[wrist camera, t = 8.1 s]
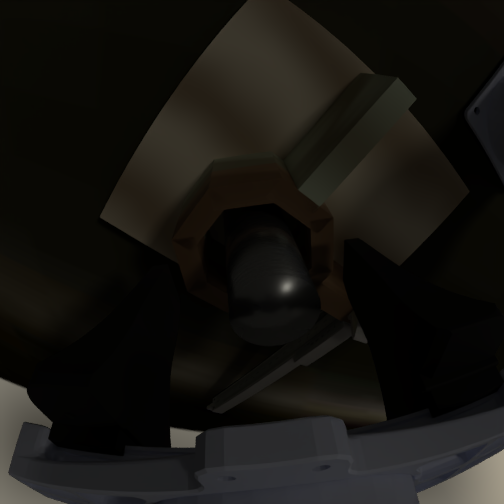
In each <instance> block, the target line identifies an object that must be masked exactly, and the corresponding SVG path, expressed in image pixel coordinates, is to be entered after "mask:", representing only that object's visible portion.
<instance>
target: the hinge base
mask: <svg viewBox="0 0 504 504" xmlns="http://www.w3.org/2000/svg"><path fill="white" fill-rule="evenodd" d="M415 100H416V98H415V97H414V95H413V94H412V93H411V92H410V91H409V90H408V88H407V87H406V86H405V85H404V84H403V83H402V82H401V81H400V79H399V78H397V77H391V76H384V75H377V74H374V73H373V72H372V71H371V70H370V69H369V68H368V67H367V66H366V65H365V64H364V63H363V62H362V61H361V60H360V59H359V58H358V57H357V56H356V55H354V54H353V53H352V52H351V51H350V50H349V49H348V48H347V47H346V46H345V45H343V44H342V43H341V42H340V41H339V40H338V39H337V38H335V37H334V36H333V35H332V34H331V33H330V32H328V31H327V30H326V29H325V28H324V27H322V26H321V25H320V24H319V23H317V22H316V21H315V20H314V19H312V18H311V17H310V16H308V15H307V14H306V13H305V12H303V11H302V10H301V9H299V8H298V7H297V6H295V5H294V4H293V3H291V2H290V1H288V0H248V1H247V2H246V3H245V4H244V5H243V6H242V7H241V8H240V9H239V11H238V12H237V13H236V14H235V15H234V16H233V17H232V19H231V20H230V21H229V22H228V23H227V24H226V25H225V27H224V28H223V29H222V30H221V31H220V33H219V34H218V35H217V36H216V37H215V39H214V40H213V41H212V42H211V43H210V45H209V46H208V47H207V48H206V50H205V51H204V52H203V54H202V55H201V56H200V57H199V59H198V60H197V61H196V63H195V64H194V65H193V67H192V68H191V69H190V71H189V72H188V73H187V75H186V76H185V77H184V79H183V80H182V81H181V83H180V84H179V86H178V87H177V88H176V90H175V91H174V93H173V94H172V96H171V97H170V98H169V100H168V101H167V103H166V104H165V106H164V107H163V109H162V110H161V112H160V113H159V115H158V116H157V118H156V119H155V121H154V122H153V124H152V126H151V127H150V129H149V130H148V132H147V133H146V135H145V137H144V138H143V140H142V142H141V143H140V145H139V146H138V148H137V150H136V151H135V153H134V155H133V157H132V158H131V160H130V162H129V163H128V165H127V167H126V169H125V170H124V172H123V174H122V176H121V178H120V179H119V181H118V183H117V185H116V187H115V189H114V190H113V192H112V194H111V196H110V198H109V200H108V202H107V204H106V206H105V208H104V210H103V212H102V214H101V216H100V218H102V219H104V220H105V221H107V222H109V223H110V224H112V225H114V226H115V227H117V228H118V229H120V230H122V231H123V232H125V233H127V234H128V235H130V236H132V237H133V238H135V239H137V240H139V241H140V242H142V243H144V244H145V245H147V246H149V247H150V248H152V249H154V250H156V251H157V252H159V253H161V254H162V255H164V256H166V257H168V258H169V259H171V260H173V261H175V262H176V263H178V264H179V266H180V270H181V273H182V276H183V279H184V283H185V286H186V289H187V292H189V293H191V294H193V295H195V296H197V297H198V298H200V299H202V300H204V301H206V302H208V303H210V304H212V305H214V306H216V307H217V308H219V309H221V310H223V311H225V312H227V313H229V307H228V291H227V274H226V257H225V238H224V218H223V212H224V210H226V209H233V208H240V207H247V206H254V205H262V204H269V203H275V204H276V205H278V206H279V207H280V209H281V211H282V214H283V216H284V218H285V220H286V222H287V224H288V227H289V229H290V231H291V233H292V235H293V238H294V240H295V242H296V244H297V247H298V249H299V251H300V253H301V256H302V258H303V260H304V262H305V265H306V267H307V269H308V272H309V274H310V276H311V278H312V281H313V283H314V285H315V288H316V290H317V292H318V295H319V297H320V301H321V310H323V311H325V312H326V313H328V314H330V315H332V316H333V317H335V318H337V319H338V320H340V321H342V322H343V321H345V322H347V323H350V324H351V322H350V320H349V319H348V317H347V316H348V315H349V314H350V313H351V312H352V311H353V308H352V306H351V304H350V301H349V299H348V295H347V292H346V289H345V286H344V282H343V263H344V240H346V239H354V238H359V239H361V240H363V241H364V242H365V243H367V244H368V245H370V246H371V247H373V248H374V249H375V250H377V251H378V252H380V253H381V254H382V255H384V256H385V257H387V258H388V259H390V260H391V261H393V262H394V263H396V264H397V265H399V266H400V265H401V264H402V263H403V262H404V261H405V260H406V259H407V258H408V257H409V256H410V255H411V254H412V253H413V252H414V251H415V250H416V249H417V248H418V247H419V246H420V245H421V244H422V243H423V242H424V241H425V240H426V239H427V238H428V237H429V236H430V235H431V234H432V233H433V232H434V231H435V229H436V228H437V227H438V226H439V225H440V224H441V223H442V222H443V221H444V220H445V219H446V218H447V217H448V215H449V214H450V213H451V212H452V211H453V210H454V209H455V208H456V207H457V206H458V204H459V203H460V202H461V201H462V200H463V199H464V198H465V196H466V195H467V194H468V193H469V192H470V191H469V190H468V188H467V187H466V185H465V184H464V182H463V181H462V179H461V178H460V176H459V175H458V173H457V172H456V171H455V169H454V168H453V166H452V165H451V163H450V162H449V161H448V159H447V158H446V157H445V155H444V154H443V153H442V151H441V150H440V149H439V147H438V146H437V145H436V143H435V142H434V141H433V139H432V138H431V137H430V136H429V134H428V133H427V132H426V131H425V129H424V128H423V127H422V126H421V124H420V123H419V122H418V121H417V120H416V118H415V117H414V116H413V115H412V114H411V113H410V111H409V110H408V108H409V107H410V106H411V105H412V104H413V103H414V101H415Z"/></svg>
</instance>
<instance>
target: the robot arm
mask: <svg viewBox="0 0 504 504" xmlns="http://www.w3.org/2000/svg"><path fill="white" fill-rule="evenodd" d="M475 107H476V112H474V109H475ZM464 117H465V120H466V121H467V123H468V124H469V126H470V127H471V129H472V130H473V132H474V134H475V135H476V137H477V138H478V140H479V142H480V143H481V145H482V147H483V148H484V150H485V152H486V154H487V155H488V157H489V159H490V161H491V162H492V164H493V166H494V168H495V170H496V172H497V173H498V175H499V177H500V179H501V181H502V183H503V185H504V61H503V63H502V64H501V65H500V67H499V68H498V69H497V70H496V72H495V73H494V74H493V76H492V77H491V78H490V80H489V81H488V82H487V83H486V85H485V86H484V87H483V88H482V90H481V91H480V92H479V93H478V95H477V96H476V97H475V98H474V100H473V101H472V102H471V103H470V105H469V106H468V107H467V108H466V110H465V112H464ZM343 282H344V286H345V289H346V292H347V295H348V299H349V301H350V304H351V306H352V308H353V310H354V312H355V315H356V317H357V319H358V321H359V324H360V326H361V328H362V330H363V332H364V335H365V337H366V339H367V342H368V344H369V347H370V350H371V353H372V357H373V360H374V363H375V367H376V371H377V375H378V379H379V383H380V387H381V391H382V396H383V401H384V405H385V411H386V417H387V421H384V422H380V423H376V424H372V425H368V426H364V427H360V428H355V429H351V430H346V426H345V424H344V422H343V420H341V419H339V418H335V417H331V416H328V415H327V416H310V417H304V418H297V419H291V420H283V421H275V422H267V423H258V424H248V425H236V426H223V427H218V428H212V429H208V430H206V431H205V432H203V433H201V434H200V435H198V436H197V437H196V446H195V448H171V440H170V415H169V407H170V375H171V367H172V361H173V355H174V350H175V344H176V339H177V334H178V328H179V322H180V299H179V296H178V293H177V290H176V287H175V284H174V281H173V278H172V275H171V272H170V269H169V266H168V264H163V265H156V266H153V267H152V268H151V269H150V270H149V272H148V273H147V274H146V275H145V276H144V277H143V278H142V280H141V281H140V282H139V283H138V284H137V285H136V287H135V288H134V289H133V290H132V291H131V292H130V293H129V295H128V296H127V297H126V298H125V299H124V300H123V301H122V302H121V303H120V304H119V305H118V306H117V307H116V308H115V310H114V311H113V312H111V313H110V314H109V315H108V316H107V317H106V318H105V319H104V320H103V321H102V322H101V323H99V324H98V325H97V326H96V327H95V328H93V329H92V330H91V331H90V332H88V333H87V334H86V335H84V336H83V337H82V338H80V339H79V340H78V341H76V342H75V343H73V344H72V345H70V346H68V347H67V348H65V349H64V350H62V351H60V352H58V353H57V354H55V355H53V356H51V357H49V358H47V359H45V360H43V361H41V362H39V363H37V366H36V368H35V370H34V373H33V375H32V377H31V380H30V382H29V385H28V387H27V394H28V396H29V398H30V400H31V401H32V402H33V403H34V405H35V406H36V407H37V408H38V409H40V411H41V412H43V414H45V415H46V416H47V417H48V418H49V419H50V420H51V421H52V422H53V424H52V427H51V429H50V428H48V427H46V426H43V425H38V424H33V423H28V422H24V423H23V425H22V429H21V431H20V434H19V438H18V441H17V444H16V447H15V451H14V454H13V457H12V461H11V464H10V468H9V472H8V473H9V475H11V476H12V477H14V478H15V479H17V480H18V481H20V482H22V483H23V484H25V485H27V486H29V487H30V488H32V489H33V490H35V491H37V492H39V493H41V494H43V495H44V496H46V497H48V498H51V499H54V500H58V501H61V502H64V503H68V504H419V501H418V497H417V493H418V492H421V491H423V490H425V489H428V488H430V487H432V486H435V485H437V484H439V483H441V482H443V481H446V480H448V479H450V478H452V477H454V476H456V475H458V474H460V473H462V472H464V471H466V470H468V469H469V468H471V467H473V466H475V465H477V464H479V463H481V462H482V461H484V460H486V459H487V458H490V457H491V456H493V455H495V454H497V453H498V452H500V451H502V450H503V449H504V369H502V370H501V371H500V372H498V370H497V368H496V366H497V364H498V360H497V358H496V357H495V353H496V351H497V349H498V348H499V346H500V344H501V342H502V340H503V338H504V316H503V314H502V313H501V312H500V310H499V309H498V308H497V306H496V305H495V304H494V303H490V302H485V301H481V300H476V299H472V298H469V297H466V296H462V295H459V294H456V293H453V292H451V291H448V290H445V289H443V288H441V287H438V286H436V285H434V284H431V283H429V282H427V281H425V280H423V279H421V278H419V277H417V276H416V275H414V274H412V273H410V272H409V271H407V270H405V269H404V268H402V267H400V266H399V265H397V264H396V263H394V262H393V261H391V260H390V259H388V258H387V257H385V256H384V255H382V254H381V253H380V252H378V251H377V250H375V249H374V248H373V247H371V246H370V245H368V244H367V243H365V242H364V241H363V240H361V239H359V238H354V239H346V240H344V263H343Z"/></svg>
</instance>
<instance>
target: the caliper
mask: <svg viewBox="0 0 504 504" xmlns="http://www.w3.org/2000/svg"><path fill="white" fill-rule="evenodd" d="M347 317H348V319H349V320H350V322H351V324H350V323H347V322H345V321H343V322H342V321H340V320H338V319H337V318H335V317H333V316H332V315H330V314H328V313H326V312H325V311H323V310H321V311H320V315H319V317H318V320H317V321H316V323H315V325H314V326H313V327H312V328H311V329H310V330H309V331H308V332H307V333H306V334H304V335H303V336H302V337H300V338H298V339H296V340H294V341H292V342H289V343H286V344H285V345H284V346H282V347H281V348H280V349H278V350H277V351H276V352H275V353H273V354H272V355H271V356H269V357H268V358H267V359H266V360H264V361H263V362H262V363H260V364H259V365H258V366H256V367H255V368H254V369H252V370H251V371H250V372H248V373H247V374H246V375H244V376H243V377H241V378H240V379H239V380H237V381H236V382H234V383H233V384H232V385H230V386H229V387H227V388H226V389H224V390H223V391H222V392H220V393H219V394H217V395H216V396H214V397H213V402H212V403H211V404H209V405H208V406H207V409H208V410H212V411H213V412H217V413H221V414H222V413H224V412H225V411H227V410H229V409H231V408H232V407H234V406H236V405H237V404H239V403H241V402H243V401H244V400H246V399H248V398H249V397H251V396H253V395H254V394H256V393H257V392H259V391H261V390H262V389H264V388H265V387H267V386H269V385H270V384H272V383H273V382H275V381H276V380H278V379H279V378H281V377H282V376H284V375H286V374H287V373H289V372H290V371H292V370H293V369H295V368H296V367H297V366H299V365H300V364H301V365H305V366H308V365H309V364H311V363H312V362H314V361H315V360H317V359H319V358H320V357H322V356H323V355H325V354H326V353H328V352H329V351H330V350H332V349H333V348H335V347H336V346H338V345H339V344H341V343H342V342H344V341H345V340H346V339H348V338H349V337H351V336H352V339H354V340H357V341H360V342H363V343H367V339H366V337H365V335H364V332H363V330H362V328H361V326H360V324H359V321H358V319H357V317H356V315H355V312H354V310H353V311H352V312H351V313H350V314H349V315H348V316H347Z"/></svg>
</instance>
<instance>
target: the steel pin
mask: <svg viewBox="0 0 504 504" xmlns="http://www.w3.org/2000/svg"><path fill="white" fill-rule="evenodd" d="M223 218H224V238H225V257H226V274H227V291H228V307H229V320H230V324H231V326H232V328H233V330H234V331H235V333H236V334H237V335H238V336H239V337H241V338H242V339H244V340H245V341H247V342H250V343H252V344H256V345H261V346H277V345H283V344H286V343H289V342H292V341H294V340H296V339H298V338H300V337H302V336H303V335H304V334H306V333H307V332H308V331H309V330H310V329H311V328H312V327H313V326H314V325H315V323H316V321H317V320H318V317H319V315H320V311H321V301H320V297H319V295H318V292H317V290H316V288H315V285H314V283H313V281H312V278H311V276H310V274H309V272H308V269H307V267H306V265H305V262H304V260H303V258H302V256H301V253H300V251H299V249H298V247H297V244H296V242H295V240H294V238H293V235H292V233H291V231H290V229H289V227H288V224H287V222H286V220H285V218H284V216H283V214H282V211H281V209H280V207H279V206H278V205H276V204H275V203H269V204H262V205H254V206H247V207H240V208H233V209H226V210H224V212H223Z"/></svg>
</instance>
